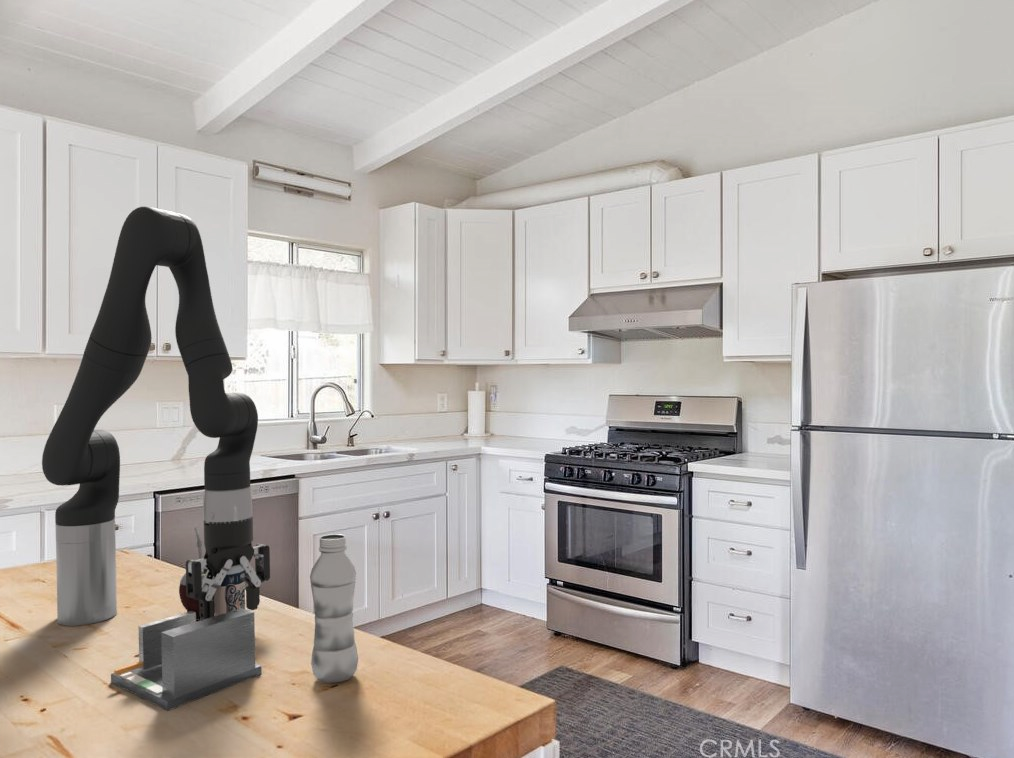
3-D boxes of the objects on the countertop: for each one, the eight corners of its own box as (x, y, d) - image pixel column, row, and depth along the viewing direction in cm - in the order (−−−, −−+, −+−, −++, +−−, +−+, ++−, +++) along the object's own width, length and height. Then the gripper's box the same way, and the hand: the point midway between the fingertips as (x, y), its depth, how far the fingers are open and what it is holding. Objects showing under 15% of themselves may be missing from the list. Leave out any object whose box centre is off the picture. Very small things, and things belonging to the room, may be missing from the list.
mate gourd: (202, 625, 128) (201, 538, 128) (166, 620, 131) (164, 535, 130) (232, 612, 135) (231, 529, 135) (197, 607, 138) (196, 526, 137)
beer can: (235, 643, 119) (234, 568, 119) (208, 641, 120) (207, 567, 120) (251, 633, 124) (250, 561, 124) (225, 631, 125) (224, 559, 125)
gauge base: (111, 682, 105) (109, 617, 105) (203, 651, 116) (202, 592, 116) (167, 710, 96) (165, 639, 96) (261, 674, 107) (260, 610, 107)
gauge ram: (111, 675, 103) (111, 632, 103) (190, 649, 113) (189, 610, 112) (117, 678, 102) (116, 635, 102) (196, 652, 112) (195, 612, 111)
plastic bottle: (317, 692, 100) (315, 544, 100) (306, 674, 106) (304, 535, 106) (364, 683, 103) (362, 539, 103) (351, 666, 109) (348, 530, 109)
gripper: (252, 506, 130) (255, 600, 130) (174, 520, 118) (176, 623, 118) (279, 510, 125) (281, 608, 125) (200, 525, 114) (202, 633, 114)
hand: (230, 615), depth 122 cm, fingers open, 7 cm apart
